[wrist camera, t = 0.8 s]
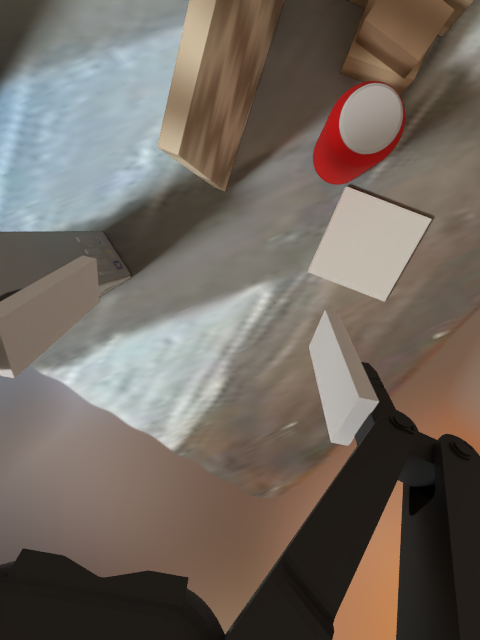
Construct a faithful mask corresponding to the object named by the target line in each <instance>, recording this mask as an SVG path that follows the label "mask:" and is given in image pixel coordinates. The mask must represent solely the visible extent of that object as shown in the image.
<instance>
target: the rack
mask: <svg viewBox="0 0 480 640" xmlns="http://www.w3.org/2000/svg"><path fill="white" fill-rule="evenodd" d="M347 1H350V2H353V3H355V4H358V5H360V6H363V7H366V5H367V3H368V0H347ZM443 1H444V2H446V3H447V4H448V5H449V6H451V7H452V8H453V9H454V11H453V13H452V14H451V16H450V17H449V18H448V20H447V21H446V23H445V24H444V26H443V27H442V29H441V30H440V32H439V33H438V35H439V36H442V37H443V36H444V34H445V33H446V32H447V31H448V30H449V29H450V27H451V26H452V25H453V24H454V23H455V22H456V20H457V19H458V18H459V17H460V16H461V15H462V13H463V12H464V11H465V10H466V9H467V8H468V6H469V5H470V4H471V3H472V2H473V1H474V0H443ZM283 4H284V0H190V1H189V5H188V10H187V14H186V19H185V23H184V28H183V32H182V37H181V42H180V46H179V51H178V55H177V60H176V64H175V69H174V73H173V78H172V82H171V87H170V91H169V96H168V101H167V105H166V110H165V114H164V119H163V123H162V128H161V132H160V137H159V141H158V146H157V147H158V148H159V149H161V150H162V151H164V152H165V153H166V154H168V155H169V156H171V157H172V158H174V159H175V160H176V161H178V162H179V163H181V164H182V165H183V166H185V167H186V168H188V169H189V170H190V171H192V172H193V173H195V174H196V175H197V176H199V177H200V178H202V179H203V180H204V181H206V182H207V183H209V184H210V185H212V186H213V187H214V188H217V189H220V190H222V191H225V190H226V187H227V184H228V180H229V177H230V174H231V171H232V168H233V164H234V161H235V158H236V155H237V151H238V148H239V145H240V142H241V139H242V135H243V132H244V129H245V126H246V123H247V119H248V116H249V113H250V110H251V106H252V103H253V100H254V97H255V94H256V90H257V87H258V84H259V81H260V77H261V74H262V71H263V68H264V65H265V61H266V58H267V55H268V52H269V49H270V45H271V42H272V39H273V36H274V32H275V29H276V26H277V23H278V20H279V16H280V13H281V10H282V7H283Z"/></svg>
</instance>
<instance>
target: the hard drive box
mask: <svg viewBox="0 0 480 640" xmlns="http://www.w3.org/2000/svg"><path fill="white" fill-rule="evenodd" d="M81 256H87V257H92V258H96V259H97V272H98V285H99V297H100V296H101V295H103V294H105V293H106V292H108V291H110V290H111V289H113V288H115V287H116V286H118V285H119V284H121V283H123V282H124V281H126V280H128V279H129V278H131V276H130V275H131V274H130V272H129V271H128V269H127V268H126V266H125V265H124V263H123V262H122V260H121V259H120V257H119V255H118V254H117V252H116V251H115V249H114V248H113V246H112V245H111V243H110V242H109V240H108V239H107V237H106V236H105V234H104V233H103V232H102V231H101V232H99V231H65V232H0V296H1V295H3V294H5V293H8V292H11V291H15V290H18V289H24V288H26V287H27V286H29V285H31V284H33V283H34V282H36V281H38V280H40V279H42V278H43V277H45V276H47V275H49V274H51V273H52V272H54V271H56V270H58V269H59V268H61V267H63V266H65V265H67V264H68V263H70V262H72V261H74V260H76V259H77V258H79V257H81Z"/></svg>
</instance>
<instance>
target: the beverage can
mask: <svg viewBox="0 0 480 640" xmlns="http://www.w3.org/2000/svg"><path fill="white" fill-rule="evenodd" d="M404 124H405V108H404V104H403V101H402V99H401V97H400V95H399V94H398V92H397V91H396V90H395V89H394V88H393V87H392V86H390V85H388V84H386V83H384V82H380V81H367V82H363V83H360V84H358V85H355V86H354V87H352V88H350V89H349V90H348V91H346V92H345V93H344V94H343V95H342V96H341V97H340V98H339V100H338V101H337V102H336V104H335V105H334V107H333V109H332V111H331V113H330V115H329V117H328V119H327V121H326V124H325V126H324V128H323V130H322V132H321V134H320V136H319V139H318V141H317V143H316V145H315V148H314V153H313V163H314V167H315V170H316V172H317V174H318V175H319V176H320V177H321V178H322V179H323V180H324V181H326V182H328V183H331V184H344V183H347V182H350V181H352V180H353V179H355V178H356V177H358V176H359V175H361V174H362V173H364V172H365V171H367V170H368V169H370V168H371V167H373V166H374V165H376V164H377V163H379V162H380V161H382V160H383V159H384V158H386V157H387V156H388V155H389V154H390V153H391V152H392V150H393V149H394V148H395V146H396V145H397V143H398V141H399V140H400V137H401V135H402V132H403V129H404Z"/></svg>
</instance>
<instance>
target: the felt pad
mask: <svg viewBox="0 0 480 640" xmlns="http://www.w3.org/2000/svg"><path fill="white" fill-rule="evenodd" d="M431 220H432V219H430V218H428V217H425V216H422V215H420V214H417V213H415V212H412V211H409V210H407V209H404V208H402V207H399V206H396V205H394V204H391V203H389V202H386V201H383V200H381V199H378V198H376V197H373V196H370V195H368V194H365V193H363V192H360V191H357V190H355V189H352V188H350V187H347V186H346V187H345V189H344V191H343V193H342V195H341V198H340V200H339V202H338V204H337V206H336V209H335V211H334V213H333V215H332V218H331V220H330V222H329V224H328V227H327V229H326V231H325V233H324V235H323V238H322V240H321V242H320V244H319V247H318V249H317V251H316V253H315V255H314V258H313V260H312V262H311V264H310V267H309V269H308V271H307V272H309V273H312V274H314V275H317V276H320V277H322V278H325V279H327V280H330V281H332V282H335V283H338V284H340V285H343V286H345V287H348V288H351V289H353V290H356V291H358V292H361V293H363V294H366V295H369V296H371V297H374V298H376V299H379V300H382V301H384V302H385V300H386V299H387V297H388V295H389V293H390V292H391V290H392V288H393V286H394V285H395V283H396V281H397V279H398V278H399V276H400V274H401V272H402V271H403V269H404V267H405V265H406V264H407V262H408V260H409V258H410V257H411V255H412V253H413V251H414V250H415V248H416V246H417V244H418V243H419V241H420V239H421V237H422V236H423V234H424V232H425V230H426V229H427V227H428V225H429V223H430V222H431Z"/></svg>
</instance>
